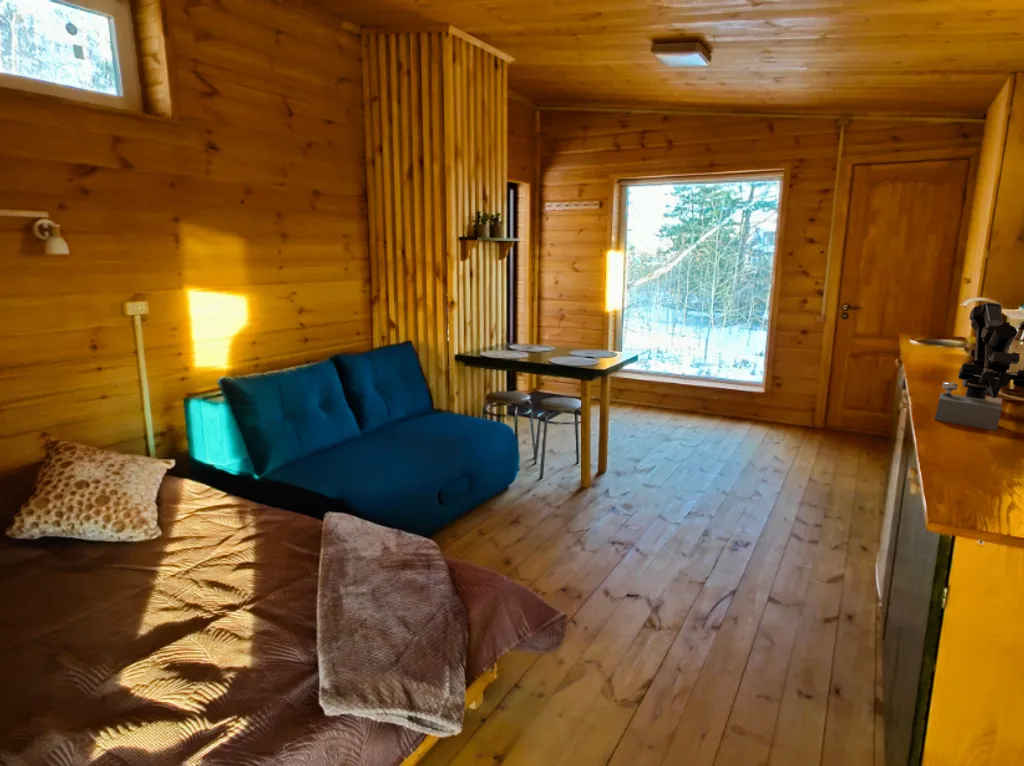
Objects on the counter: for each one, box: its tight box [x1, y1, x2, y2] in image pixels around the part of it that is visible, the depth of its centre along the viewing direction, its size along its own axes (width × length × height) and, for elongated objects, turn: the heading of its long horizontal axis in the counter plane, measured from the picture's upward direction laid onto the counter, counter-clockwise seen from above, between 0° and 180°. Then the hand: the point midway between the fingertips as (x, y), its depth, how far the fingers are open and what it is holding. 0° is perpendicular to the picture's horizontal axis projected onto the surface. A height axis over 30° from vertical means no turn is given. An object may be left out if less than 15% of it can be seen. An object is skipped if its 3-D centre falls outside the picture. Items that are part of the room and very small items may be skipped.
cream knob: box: [985, 395, 1003, 405], centre depth 201 cm, size 4×4×4 cm
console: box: [934, 392, 1003, 432], centre depth 203 cm, size 10×16×7 cm, turn 55°
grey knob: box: [941, 381, 959, 396], centre depth 207 cm, size 4×4×4 cm
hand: (994, 397), depth 200 cm, fingers closed, pressing on cream knob
